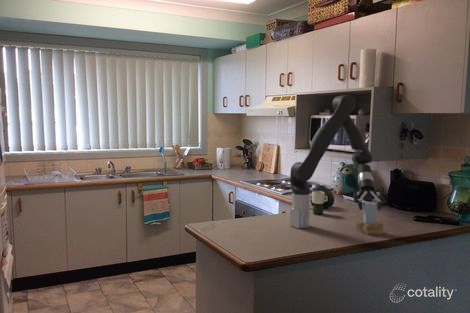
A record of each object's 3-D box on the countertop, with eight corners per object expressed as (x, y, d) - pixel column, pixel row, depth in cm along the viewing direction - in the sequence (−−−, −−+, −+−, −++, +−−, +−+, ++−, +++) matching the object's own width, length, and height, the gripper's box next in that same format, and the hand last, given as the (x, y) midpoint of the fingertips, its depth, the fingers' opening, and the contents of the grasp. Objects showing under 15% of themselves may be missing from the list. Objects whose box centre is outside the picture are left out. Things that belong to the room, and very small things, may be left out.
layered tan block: (382, 234, 200) (383, 224, 200) (366, 235, 198) (367, 225, 197) (371, 229, 209) (371, 219, 208) (356, 230, 206) (356, 221, 206)
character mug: (328, 213, 242) (329, 192, 241) (325, 216, 236) (325, 193, 235) (311, 211, 247) (311, 190, 246) (307, 214, 241) (307, 192, 240)
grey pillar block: (376, 224, 200) (376, 203, 199) (365, 223, 200) (366, 203, 199) (373, 221, 205) (374, 201, 204) (363, 221, 205) (363, 201, 204)
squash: (324, 203, 246) (332, 182, 253) (303, 200, 256) (311, 181, 263) (333, 215, 255) (340, 195, 262) (312, 212, 265) (319, 193, 271)
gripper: (353, 178, 209) (356, 204, 199) (381, 178, 208) (387, 205, 198) (350, 186, 215) (354, 213, 205) (378, 187, 214) (383, 213, 203)
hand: (370, 209), depth 201 cm, fingers open, 8 cm apart
